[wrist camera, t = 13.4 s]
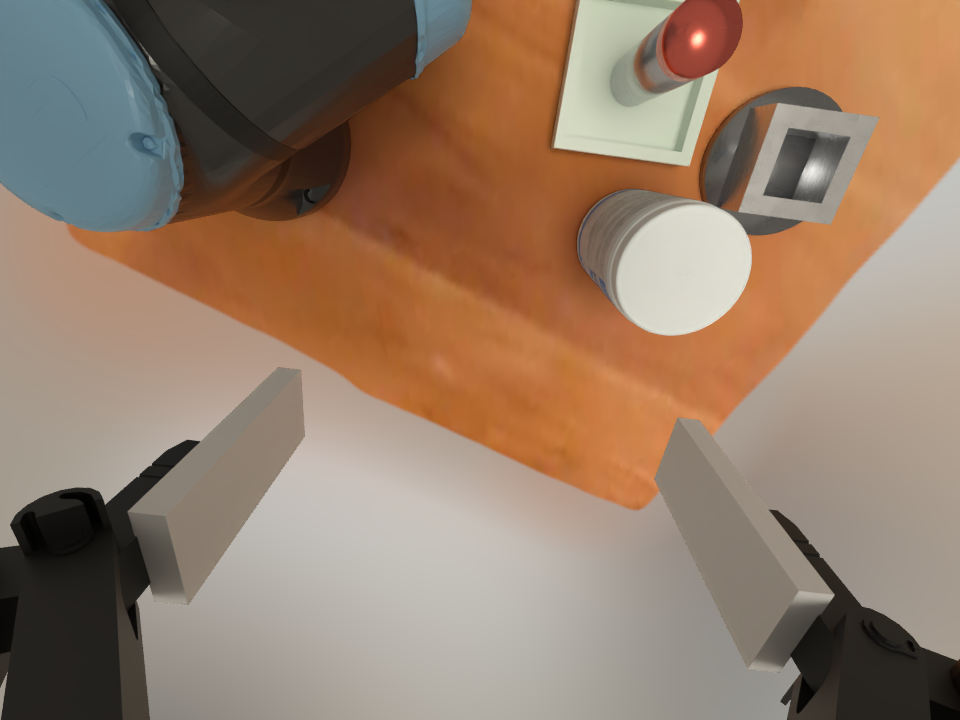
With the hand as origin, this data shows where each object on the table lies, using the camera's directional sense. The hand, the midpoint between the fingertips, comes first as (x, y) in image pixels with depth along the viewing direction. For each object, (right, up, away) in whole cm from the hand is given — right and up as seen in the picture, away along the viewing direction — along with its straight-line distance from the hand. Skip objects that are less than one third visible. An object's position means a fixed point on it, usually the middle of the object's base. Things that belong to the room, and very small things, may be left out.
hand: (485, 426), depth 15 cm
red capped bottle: (+13, +26, +22) cm, 36 cm away
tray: (+13, +27, +22) cm, 37 cm away
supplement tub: (+14, +15, +28) cm, 34 cm away
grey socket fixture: (+26, +20, +25) cm, 41 cm away
